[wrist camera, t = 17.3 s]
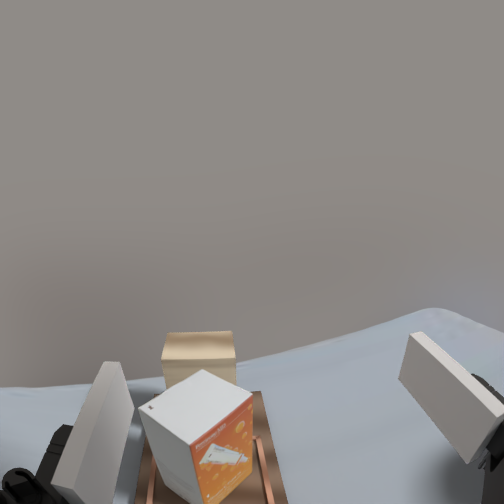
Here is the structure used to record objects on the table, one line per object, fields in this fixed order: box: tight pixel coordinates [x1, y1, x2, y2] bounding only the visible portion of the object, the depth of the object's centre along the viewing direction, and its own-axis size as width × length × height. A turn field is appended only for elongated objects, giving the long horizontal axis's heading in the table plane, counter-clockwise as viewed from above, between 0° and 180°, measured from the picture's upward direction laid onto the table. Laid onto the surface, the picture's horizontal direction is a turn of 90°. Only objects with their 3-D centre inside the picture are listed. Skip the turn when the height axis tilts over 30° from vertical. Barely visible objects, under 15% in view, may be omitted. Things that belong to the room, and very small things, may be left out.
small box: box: [138, 369, 253, 504], centre depth 24 cm, size 8×6×13 cm
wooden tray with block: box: [134, 331, 288, 504], centre depth 28 cm, size 24×16×13 cm, turn 7°
